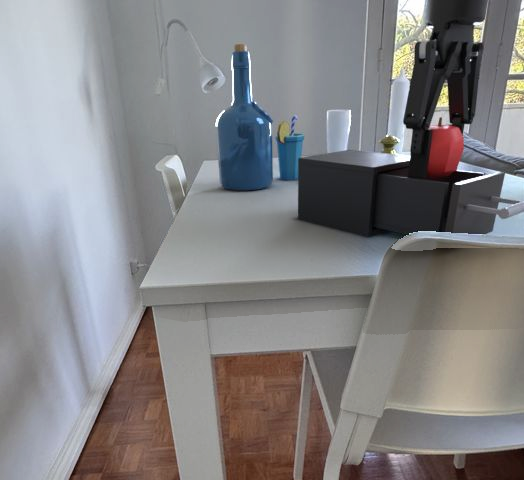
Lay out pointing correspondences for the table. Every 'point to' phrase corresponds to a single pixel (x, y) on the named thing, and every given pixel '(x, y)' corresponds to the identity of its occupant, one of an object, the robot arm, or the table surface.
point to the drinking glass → (337, 130)
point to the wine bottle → (244, 134)
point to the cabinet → (343, 188)
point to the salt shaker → (388, 144)
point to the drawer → (440, 202)
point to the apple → (444, 150)
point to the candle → (398, 109)
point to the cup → (288, 150)
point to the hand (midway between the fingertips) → (432, 173)
